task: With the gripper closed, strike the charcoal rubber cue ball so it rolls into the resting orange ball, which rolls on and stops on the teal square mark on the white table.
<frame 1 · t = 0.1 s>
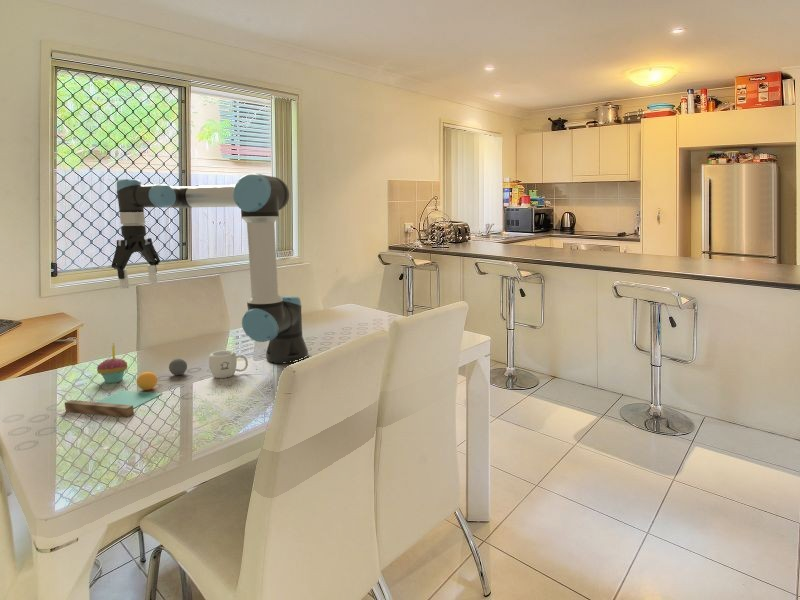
hand: (139, 285, 171), 28 cm above the table, tool pointing down, fingers open, 13 cm apart
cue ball: (178, 366, 160), on the table
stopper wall: (99, 412, 129), on the table
orange ball: (147, 380, 146), on the table
teal mark: (124, 401, 137), on the table
mug: (229, 375, 159), on the table
cupcake: (114, 381, 155), on the table
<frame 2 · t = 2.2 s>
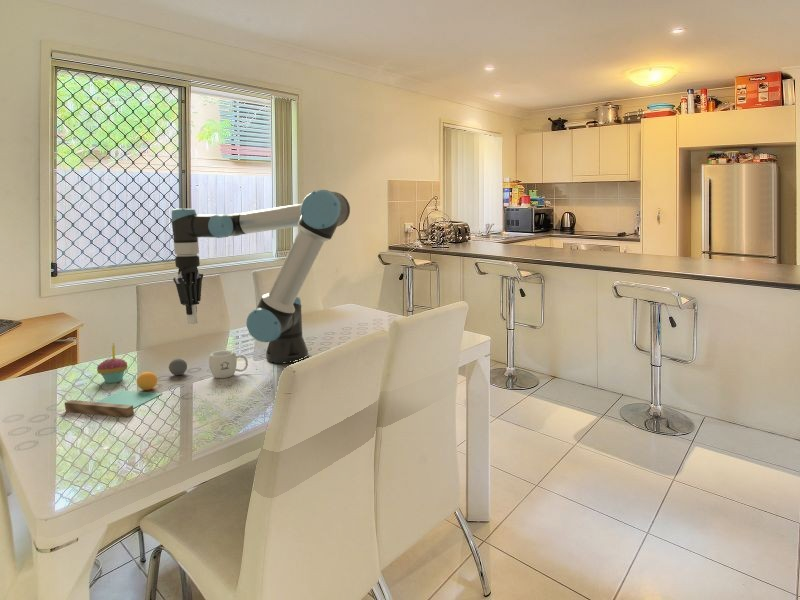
hand: (192, 323, 166), 15 cm above the table, tool pointing down, fingers closed
nothing on the table moved.
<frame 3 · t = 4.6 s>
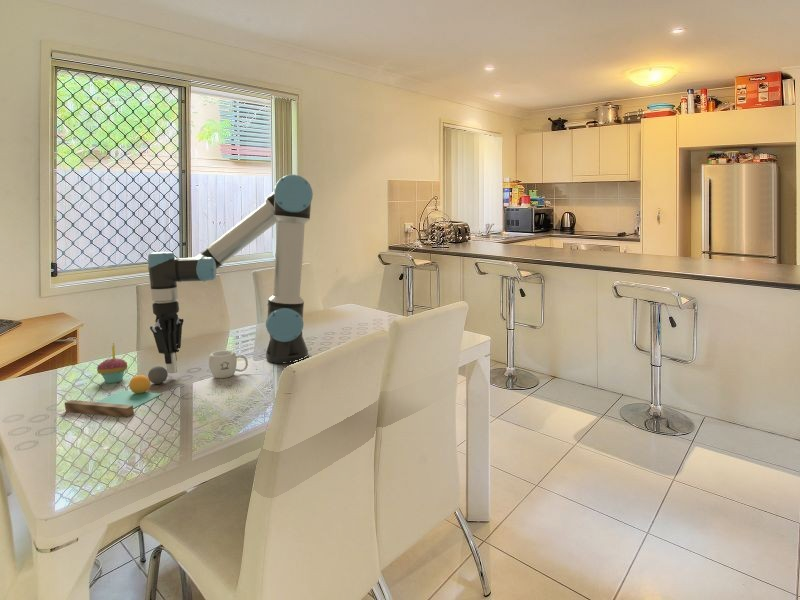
hand: (172, 372, 157), 2 cm above the table, tool pointing down, fingers closed
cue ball: (157, 375, 151), on the table
orange ball: (139, 384, 143), on the table
everything else where it was.
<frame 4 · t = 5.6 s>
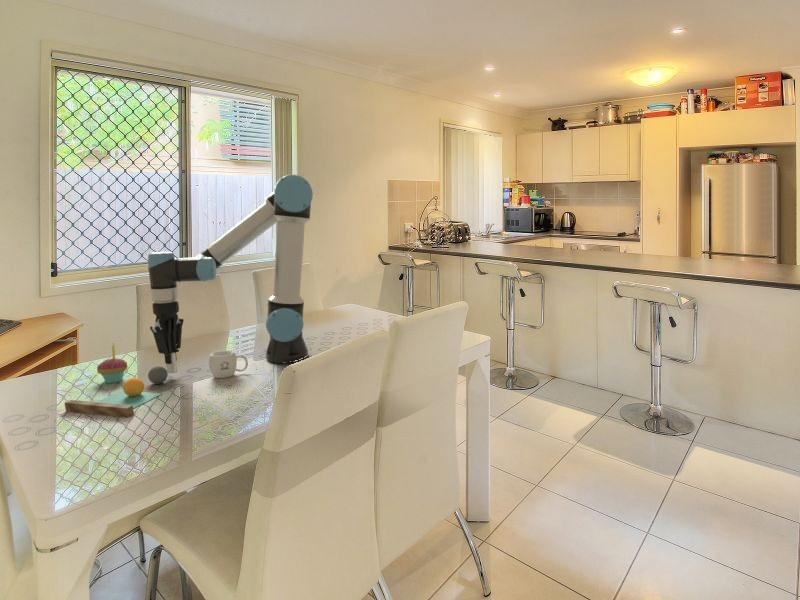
hand: (172, 372, 157), 2 cm above the table, tool pointing down, fingers closed
orange ball: (133, 387, 141), on the table
everything else where it was.
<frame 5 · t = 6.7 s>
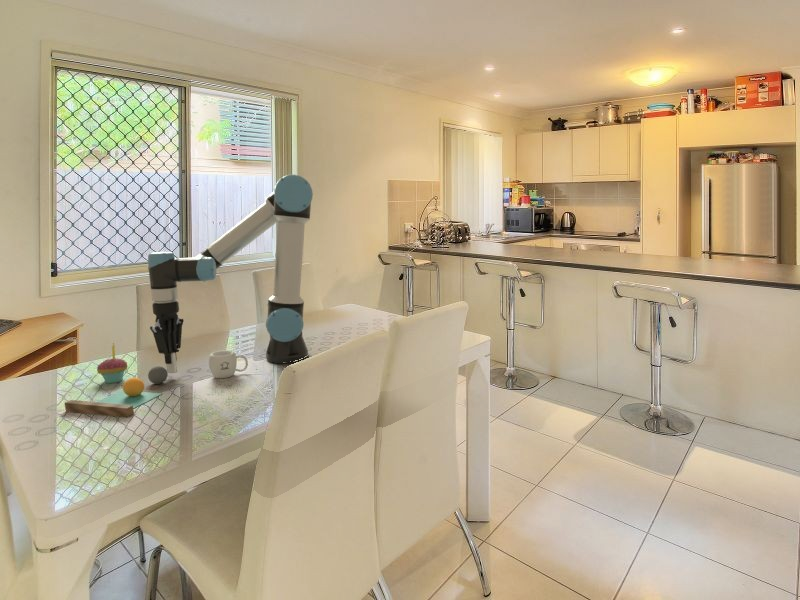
hand: (172, 372, 157), 2 cm above the table, tool pointing down, fingers closed
nothing on the table moved.
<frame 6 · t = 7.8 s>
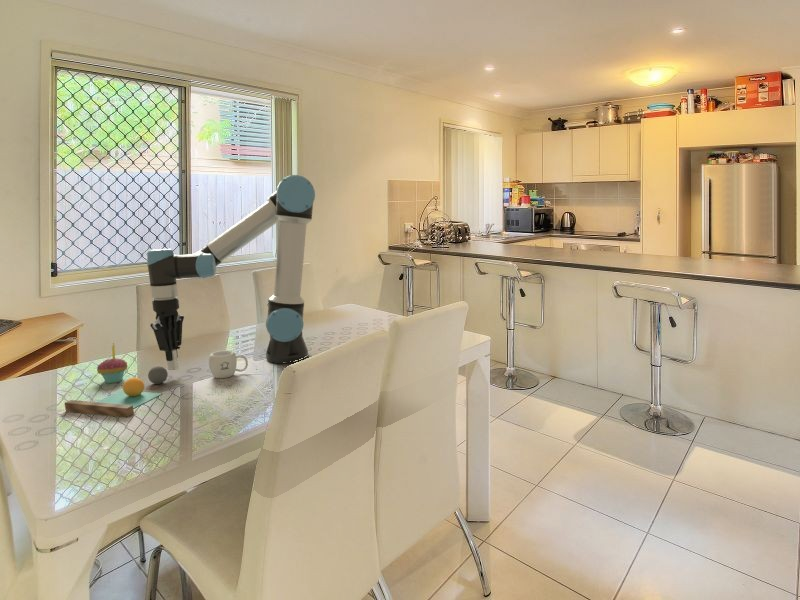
hand: (173, 369, 157), 3 cm above the table, tool pointing down, fingers closed
nothing on the table moved.
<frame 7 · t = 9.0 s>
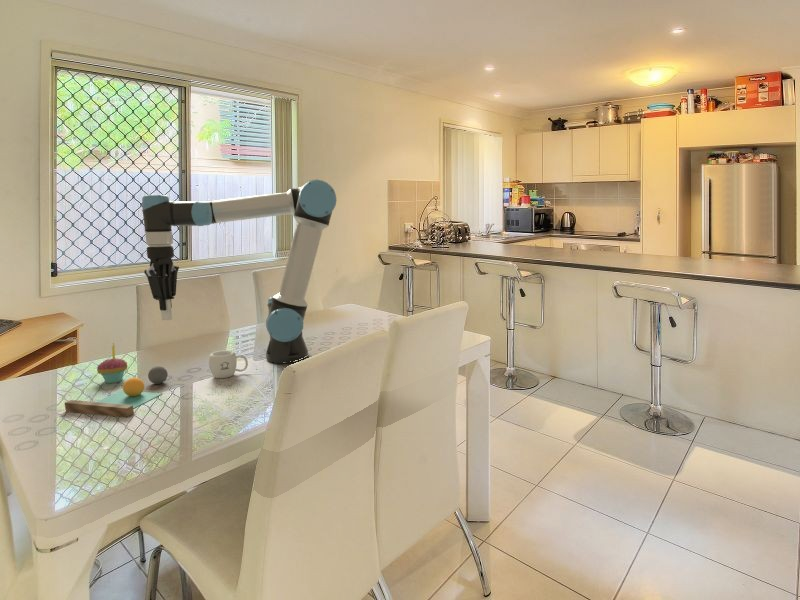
hand: (167, 319, 154), 19 cm above the table, tool pointing down, fingers closed
nothing on the table moved.
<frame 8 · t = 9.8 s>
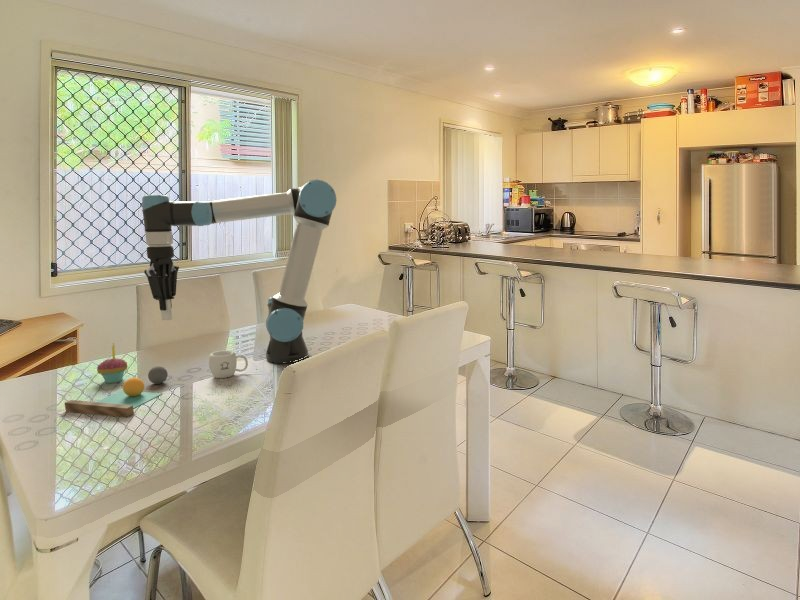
hand: (167, 319, 154), 19 cm above the table, tool pointing down, fingers closed
nothing on the table moved.
at the end: orange ball 4.1 cm from the teal mark (horizontally); orange ball never touched the robot; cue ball first touched orange ball at 4.2 s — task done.
